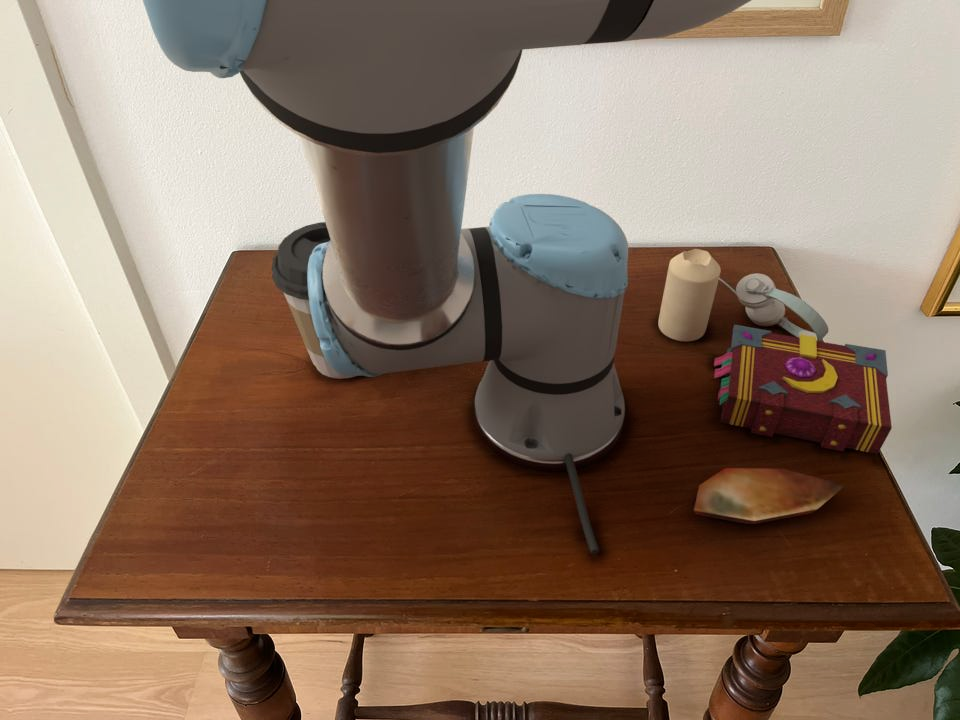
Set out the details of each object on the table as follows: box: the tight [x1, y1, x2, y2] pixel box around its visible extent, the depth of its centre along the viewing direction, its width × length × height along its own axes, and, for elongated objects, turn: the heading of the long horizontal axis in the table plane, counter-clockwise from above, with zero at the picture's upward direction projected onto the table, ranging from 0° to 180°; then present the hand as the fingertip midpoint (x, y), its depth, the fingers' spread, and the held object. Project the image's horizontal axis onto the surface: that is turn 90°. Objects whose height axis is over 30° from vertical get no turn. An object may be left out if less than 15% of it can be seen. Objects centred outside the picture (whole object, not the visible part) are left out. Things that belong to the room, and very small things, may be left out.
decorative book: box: [713, 324, 893, 455], centre depth 74 cm, size 11×16×5 cm
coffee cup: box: [271, 221, 356, 380], centre depth 77 cm, size 11×11×15 cm
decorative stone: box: [693, 467, 846, 525], centre depth 65 cm, size 14×6×3 cm, turn 84°
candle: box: [658, 248, 722, 342], centre depth 82 cm, size 6×6×10 cm
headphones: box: [718, 273, 829, 342], centre depth 85 cm, size 8×4×20 cm
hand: (386, 150), depth 80 cm, fingers closed
